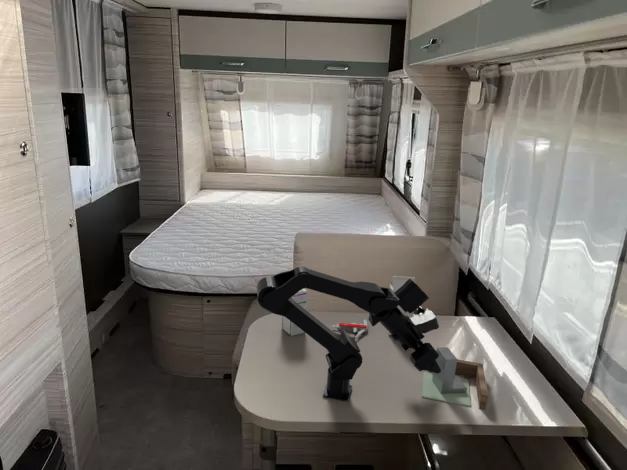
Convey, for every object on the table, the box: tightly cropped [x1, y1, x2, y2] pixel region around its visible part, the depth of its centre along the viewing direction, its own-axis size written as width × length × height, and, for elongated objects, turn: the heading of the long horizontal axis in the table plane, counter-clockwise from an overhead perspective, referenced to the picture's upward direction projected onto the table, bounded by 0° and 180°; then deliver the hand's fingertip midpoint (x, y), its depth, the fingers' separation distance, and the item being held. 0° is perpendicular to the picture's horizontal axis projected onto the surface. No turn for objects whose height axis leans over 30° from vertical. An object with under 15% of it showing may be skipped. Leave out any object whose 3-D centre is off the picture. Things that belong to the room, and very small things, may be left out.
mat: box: [421, 371, 472, 407], centre depth 127 cm, size 12×12×1 cm
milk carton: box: [386, 275, 416, 336], centre depth 155 cm, size 7×7×19 cm
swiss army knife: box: [331, 319, 368, 339], centre depth 156 cm, size 12×14×2 cm
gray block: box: [432, 346, 467, 394], centre depth 126 cm, size 7×6×10 cm
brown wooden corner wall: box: [455, 358, 489, 410], centre depth 128 cm, size 16×14×4 cm
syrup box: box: [281, 288, 308, 337], centre depth 152 cm, size 6×6×14 cm
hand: (432, 362), depth 125 cm, fingers open, 9 cm apart
